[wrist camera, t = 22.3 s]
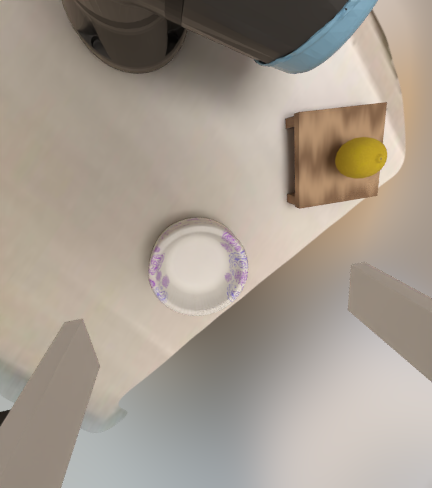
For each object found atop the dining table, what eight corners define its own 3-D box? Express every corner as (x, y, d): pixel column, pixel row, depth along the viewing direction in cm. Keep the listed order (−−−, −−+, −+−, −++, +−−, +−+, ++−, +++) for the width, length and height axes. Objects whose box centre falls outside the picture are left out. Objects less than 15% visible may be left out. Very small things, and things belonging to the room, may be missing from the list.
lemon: (324, 141, 38) (363, 138, 31) (358, 136, 39) (403, 132, 31) (324, 178, 40) (360, 184, 33) (356, 173, 41) (398, 177, 33)
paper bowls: (134, 238, 42) (127, 255, 35) (215, 197, 43) (225, 206, 35) (176, 305, 48) (178, 333, 41) (248, 269, 48) (263, 290, 41)
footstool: (299, 112, 36) (386, 102, 38) (285, 116, 40) (365, 107, 42) (299, 208, 41) (377, 195, 43) (287, 203, 45) (358, 192, 47)
